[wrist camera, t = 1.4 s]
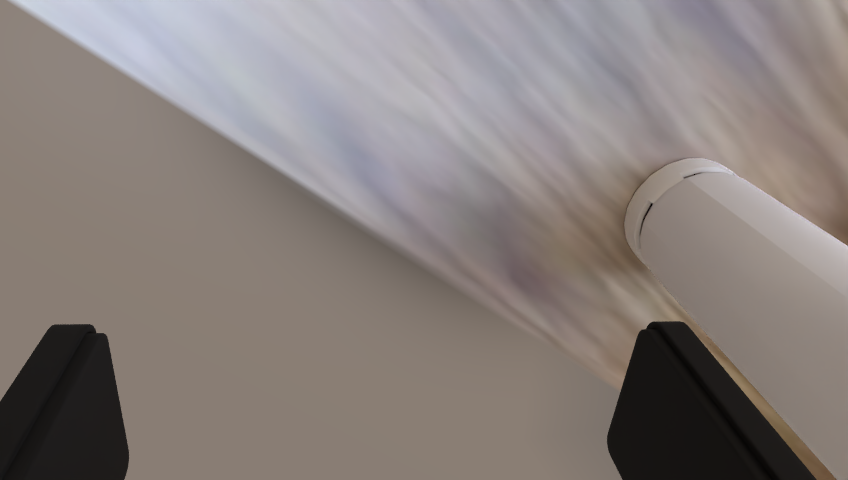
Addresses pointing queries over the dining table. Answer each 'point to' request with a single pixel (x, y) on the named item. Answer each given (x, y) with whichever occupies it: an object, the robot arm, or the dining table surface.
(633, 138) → the dining table surface
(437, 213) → the dining table surface
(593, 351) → the dining table surface
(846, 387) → the bottle
